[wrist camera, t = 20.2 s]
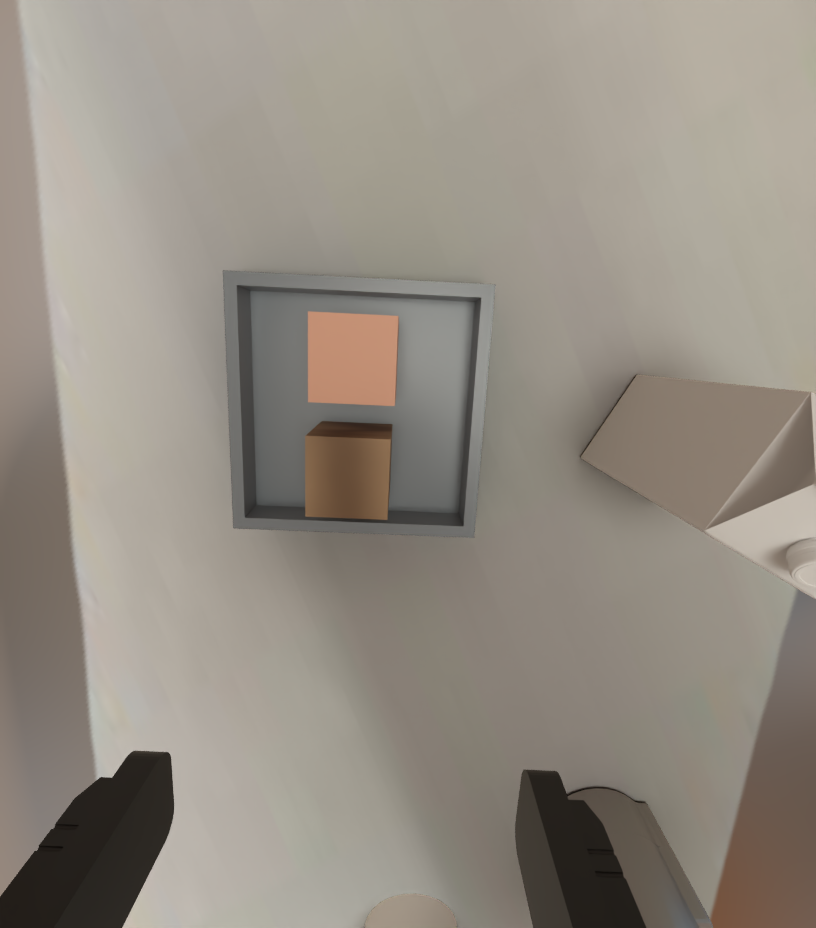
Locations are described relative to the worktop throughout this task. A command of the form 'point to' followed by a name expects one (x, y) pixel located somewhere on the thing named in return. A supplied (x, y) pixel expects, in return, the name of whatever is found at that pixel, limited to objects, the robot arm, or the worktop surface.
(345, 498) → the walnut block
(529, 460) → the worktop surface
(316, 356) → the terracotta block
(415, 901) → the cylinder with rectangular tab
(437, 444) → the tray
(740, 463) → the milk carton
